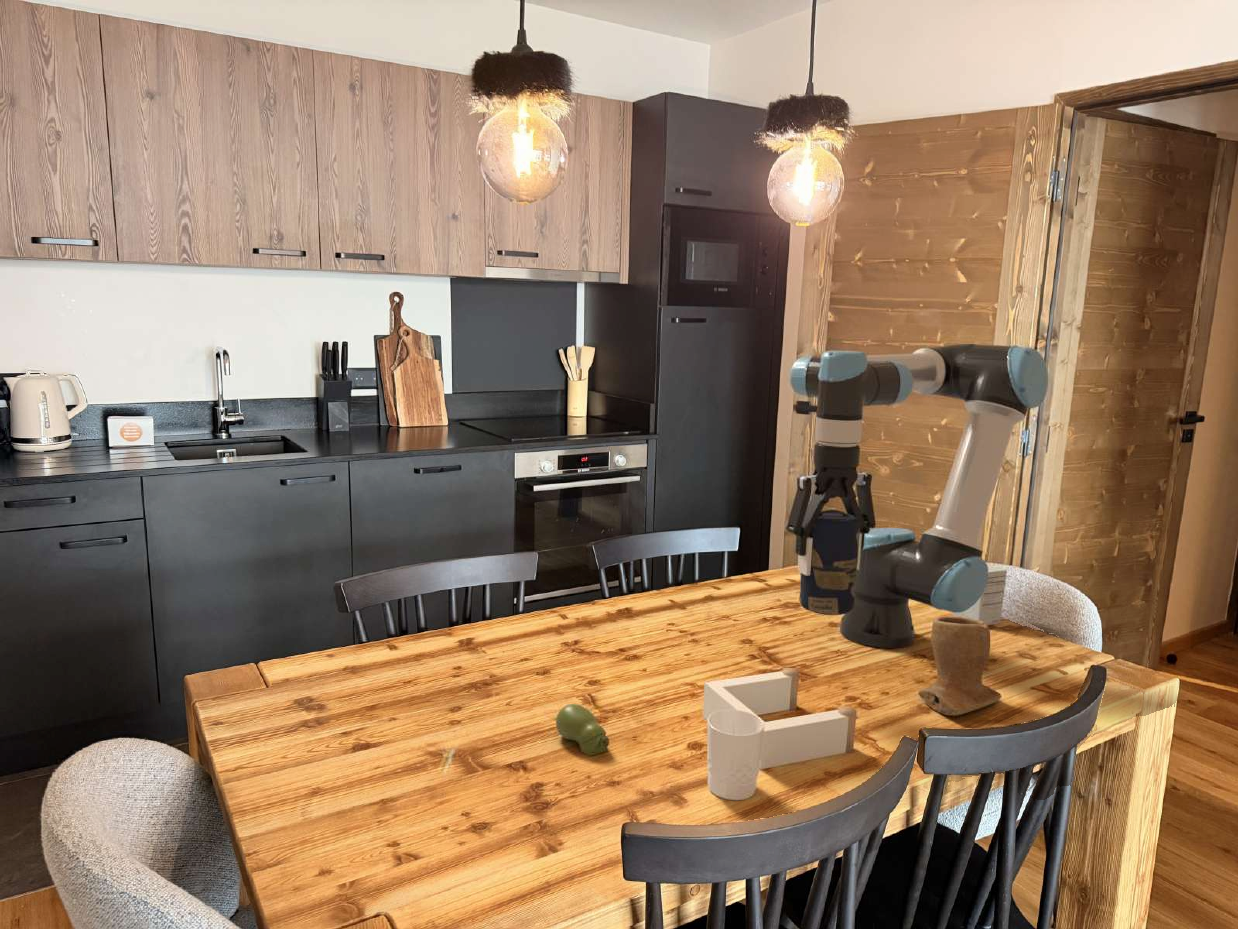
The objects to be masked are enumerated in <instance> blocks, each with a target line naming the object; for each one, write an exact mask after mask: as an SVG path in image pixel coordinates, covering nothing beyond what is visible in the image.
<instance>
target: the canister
mask: <svg viewBox="0 0 1238 929" xmlns="http://www.w3.org/2000/svg"><path fill="white" fill-rule="evenodd" d="M859 530H860V523H859V520H858V518H856V517H855V516H853V515H851V514H848V513H847V512H844V511H841V510H839V509H826V510H822V511H821V513H820V515H819V517H818V519H817V520H816V521H815V523H814V526H813V528H812V530H811V532H810V534H809V537H811V538H813V541H812V556H811V570H810V575H808V576H806V575H804V574H802V573H800V591H799V592H800V593H799V598H798V600H799V601H798V602H799V604H800V606H801V607H802V608H803V609H805V610H806V611H808V612H811V613H815V614H819V615H823V616H824V615H825V616H840V615H841V616H843V615H844V614H846V613H848V612H850V611H851V610H852V609H853V607H854V602H855V588H856V573H857V563H858V548H859Z"/></svg>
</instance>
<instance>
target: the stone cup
mask: <svg viewBox="0 0 1238 929" xmlns="http://www.w3.org/2000/svg"><path fill="white" fill-rule="evenodd" d="M930 642H931V646H932V647H931V648H932V652H933V656H934V659H935V660H934V662H935V667H936V673H937V675H936V681H935V682H934V683H933V684H930V685H929V686H927V687H924V688H923V689H920V690H918V692H917V694H918V695H919V697H920V698H921V699H922V700H923V702H924V703H926V704H927V705H928V706H929V707H930V708H931V709H932V710H934V711H935V712H937V713H939V714H942V715H945V716H953V717H955V716H960V715H964V714H967V713H970V712H973V711H976V710H979V709H982V708H985V707H988V706H990V705H992V704H994V703H996V702H999V701H1000V700H1001V698H1002V694H1001V693H999V691H996V690H994V689H993V688H990V687H988V686H986V685H984V684H983V680H982V679H983V674H984V671H985V668H986V665H987V662H988V660H989V657H990V651H991V630H990V627H989V625H987V624H986V623H985V622H983V621H980V620H974V619H970V618H964V617H954V616H940V617H936V618H935V619H934V620H933V622H932V625H931V634H930Z"/></svg>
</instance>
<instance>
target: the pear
mask: <svg viewBox="0 0 1238 929" xmlns="http://www.w3.org/2000/svg"><path fill="white" fill-rule="evenodd" d="M555 725H556V726H555V727H556V730H557V732H558V734H559V735H560V736H561V737H563V739H566V740H569V741H575V742H577V743H578V745H579V748H580V751H581V752H582V753H583V754H586V755H588V756H589V757H591V756H594V755H597V754H601V753H604V752H606V751H607V750H608V746H609V745H610V739H609V737H607V735H606V734H607V732H606V730H605V729H604V727H603V726H601V725H600V724H599V723H598V721H597V718H596V717H595V714H593V712H591V711H590V710H589V709H587V708H586V707H584V706H582V705H580V704H576V703H571V704H567V705H564V707H562V708H561V709H559V711H558V713H557V715H556V718H555Z"/></svg>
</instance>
